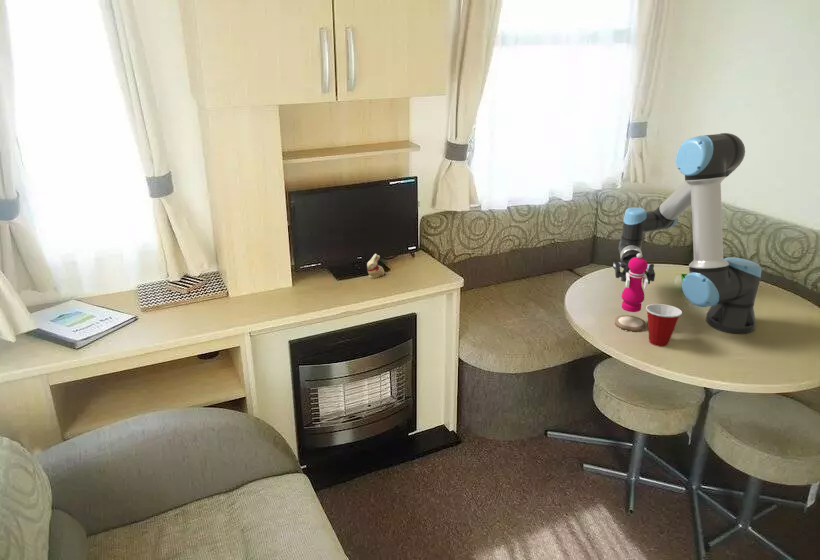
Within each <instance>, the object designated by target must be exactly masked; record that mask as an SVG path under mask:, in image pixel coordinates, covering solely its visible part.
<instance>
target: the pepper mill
mask: <svg viewBox="0 0 820 560" xmlns="http://www.w3.org/2000/svg"><path fill="white" fill-rule="evenodd" d="M642 255H643V253H642V254H641V253H638V254H637V257H634V258H632V259H631V260H630V261H629V263H628V267H629V269H630V270H629V279H630V282H629V288H626V286H625V287H624V288H623V290H622V293H621V299H622V300H623V301H622V302H621V309H622V310H624V311H626V312H629V313H638V312H640V311H641V310H642V303H644V301H645V291H644V287H643V286H642V285H643V277H644V274H645V272H644V271H645V270H646V271H647V267H648V265H649V264H648V261H647V260H646V259H645V258H644V257H643V258H642Z"/></svg>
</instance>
